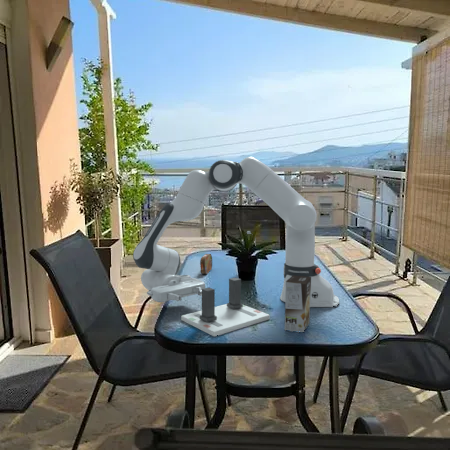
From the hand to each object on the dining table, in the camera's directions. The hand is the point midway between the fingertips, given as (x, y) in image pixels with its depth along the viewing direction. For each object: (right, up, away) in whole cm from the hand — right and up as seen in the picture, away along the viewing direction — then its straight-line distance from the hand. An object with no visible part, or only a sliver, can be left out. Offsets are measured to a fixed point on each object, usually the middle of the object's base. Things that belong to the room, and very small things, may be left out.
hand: (191, 295), depth 147 cm
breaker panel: (+12, -8, -2) cm, 14 cm away
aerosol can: (+23, +1, +64) cm, 68 cm away
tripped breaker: (+6, -7, -7) cm, 11 cm away
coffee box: (+35, -9, -8) cm, 37 cm away
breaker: (+15, -5, +6) cm, 17 cm away
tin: (+2, +1, +62) cm, 63 cm away
